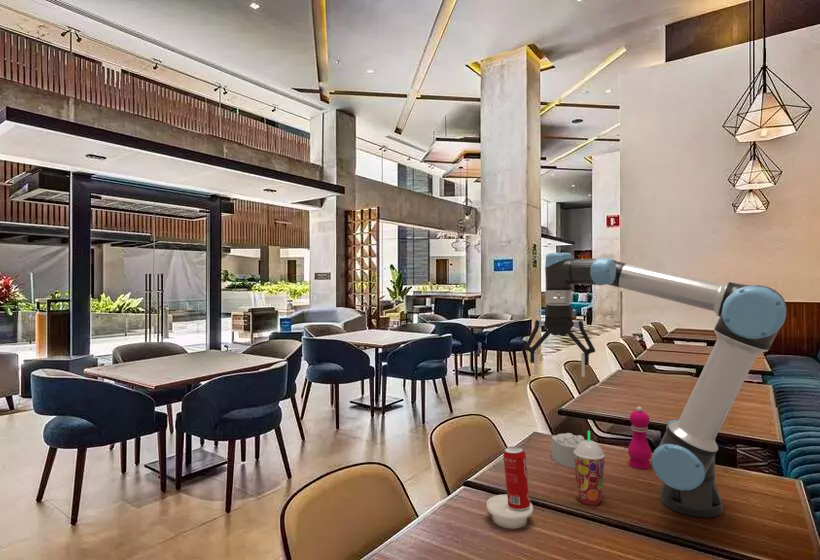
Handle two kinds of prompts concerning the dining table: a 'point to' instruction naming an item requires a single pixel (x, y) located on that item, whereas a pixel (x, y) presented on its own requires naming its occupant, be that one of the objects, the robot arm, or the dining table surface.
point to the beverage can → (516, 478)
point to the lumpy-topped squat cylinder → (565, 448)
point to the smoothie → (589, 471)
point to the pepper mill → (639, 440)
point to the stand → (507, 512)
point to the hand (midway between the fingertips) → (559, 375)
